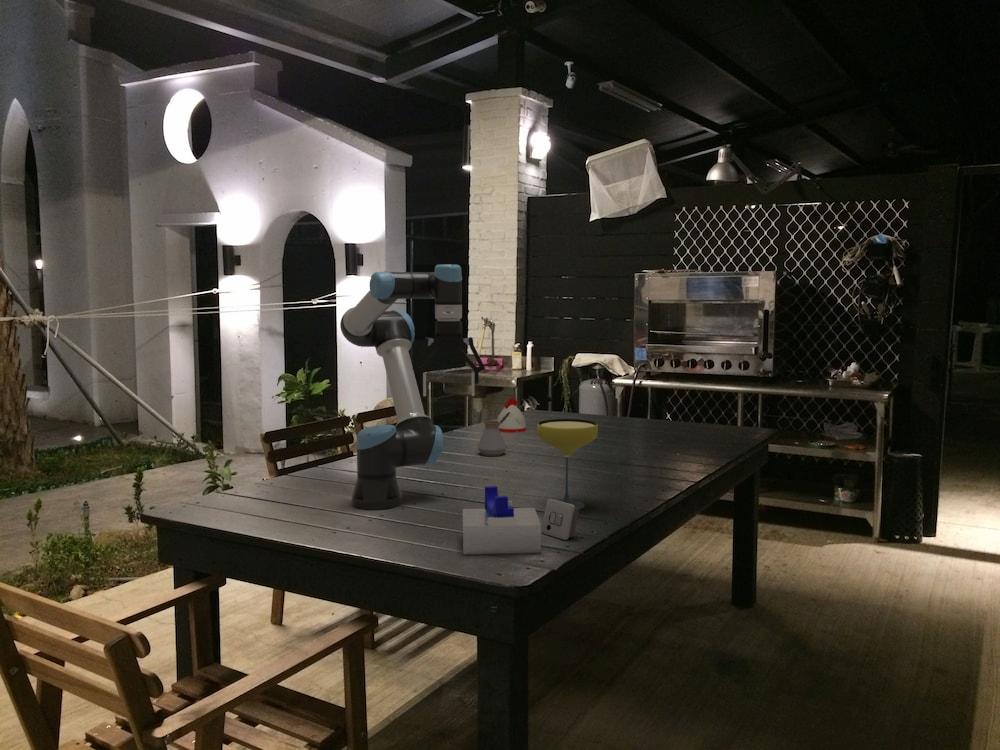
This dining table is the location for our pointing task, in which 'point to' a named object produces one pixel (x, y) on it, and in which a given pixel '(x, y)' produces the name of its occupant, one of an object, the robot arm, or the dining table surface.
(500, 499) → the blue stepped piece
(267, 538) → the dining table surface
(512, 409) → the kitchen timer
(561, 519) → the electrical switch
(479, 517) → the white boxy block
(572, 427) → the cocktail glass
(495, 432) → the coffee pot
